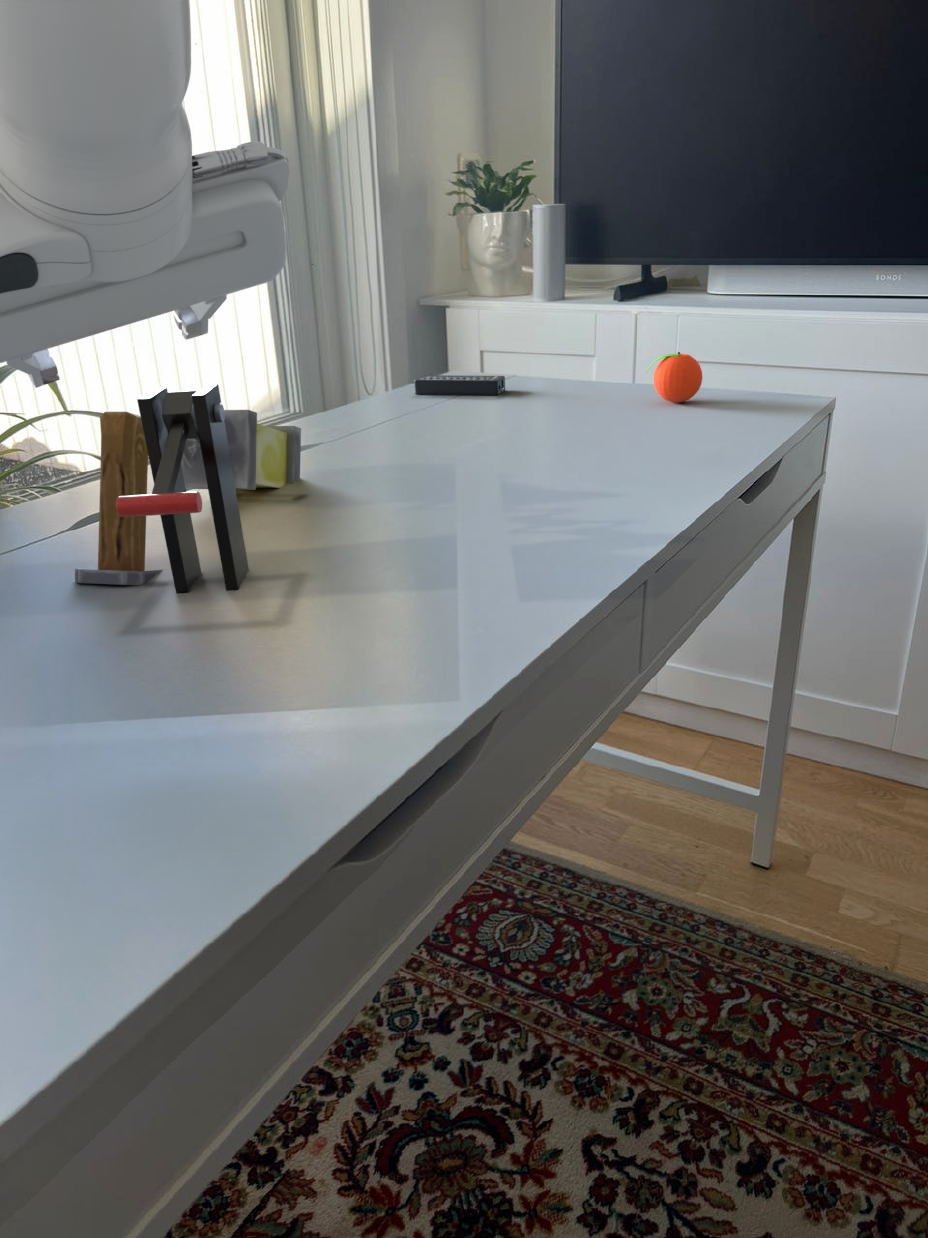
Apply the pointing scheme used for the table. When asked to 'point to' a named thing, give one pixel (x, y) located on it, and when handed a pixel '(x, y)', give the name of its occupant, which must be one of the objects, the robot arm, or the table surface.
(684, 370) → the clementine
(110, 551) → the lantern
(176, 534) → the switch bracket
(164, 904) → the table surface
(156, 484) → the switch lever
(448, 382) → the multiport hub
